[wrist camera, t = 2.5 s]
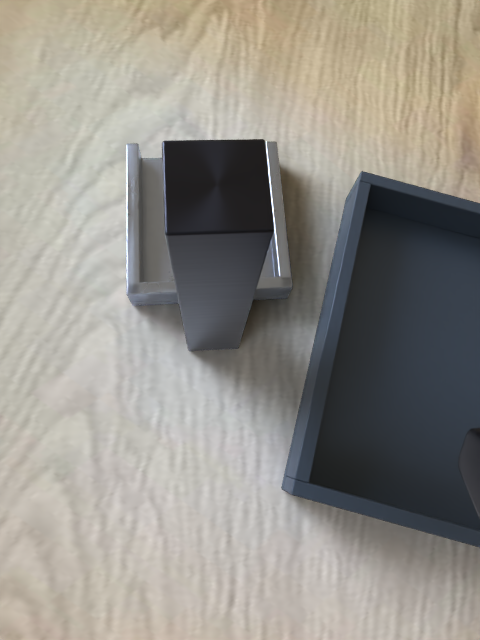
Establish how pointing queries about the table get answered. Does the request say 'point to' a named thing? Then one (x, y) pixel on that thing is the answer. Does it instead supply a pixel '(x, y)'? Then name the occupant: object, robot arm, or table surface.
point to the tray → (395, 363)
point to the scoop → (207, 234)
